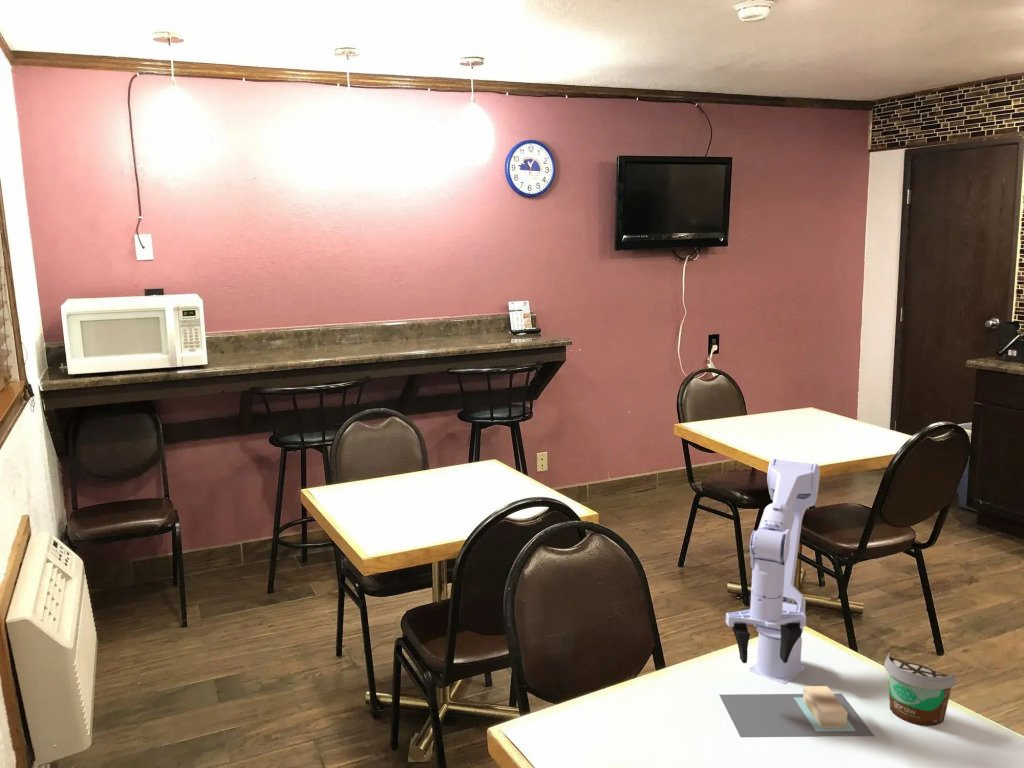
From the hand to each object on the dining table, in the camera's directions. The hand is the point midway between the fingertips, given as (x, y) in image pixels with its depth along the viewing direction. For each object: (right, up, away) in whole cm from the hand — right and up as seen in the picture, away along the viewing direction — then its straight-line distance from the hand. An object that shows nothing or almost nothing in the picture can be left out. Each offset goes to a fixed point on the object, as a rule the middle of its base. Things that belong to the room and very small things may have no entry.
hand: (763, 660), depth 153 cm
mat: (+5, -10, -2) cm, 11 cm away
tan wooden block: (+11, -9, -2) cm, 14 cm away
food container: (+27, -10, -2) cm, 29 cm away
